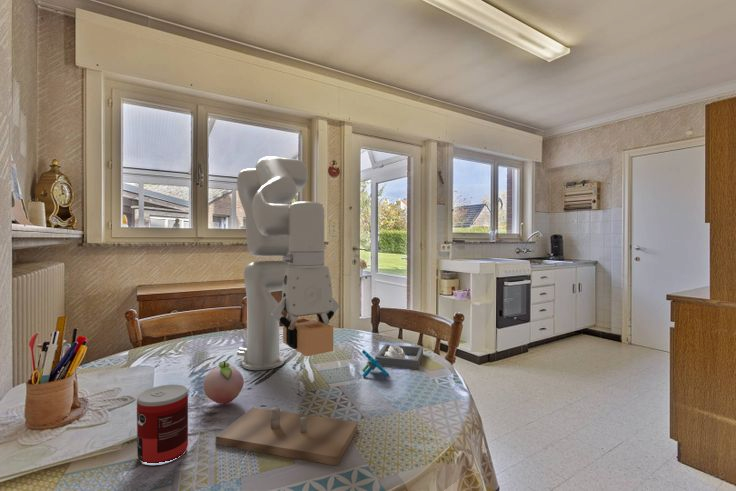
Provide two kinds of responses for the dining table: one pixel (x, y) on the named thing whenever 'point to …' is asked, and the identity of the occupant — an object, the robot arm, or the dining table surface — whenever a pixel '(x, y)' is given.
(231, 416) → the dining table surface
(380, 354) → the frame
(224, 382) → the decorative fruit
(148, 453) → the canned food
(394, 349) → the whipped cream
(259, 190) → the robot arm
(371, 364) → the gear
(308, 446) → the locating board
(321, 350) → the block with square holes
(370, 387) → the dining table surface
